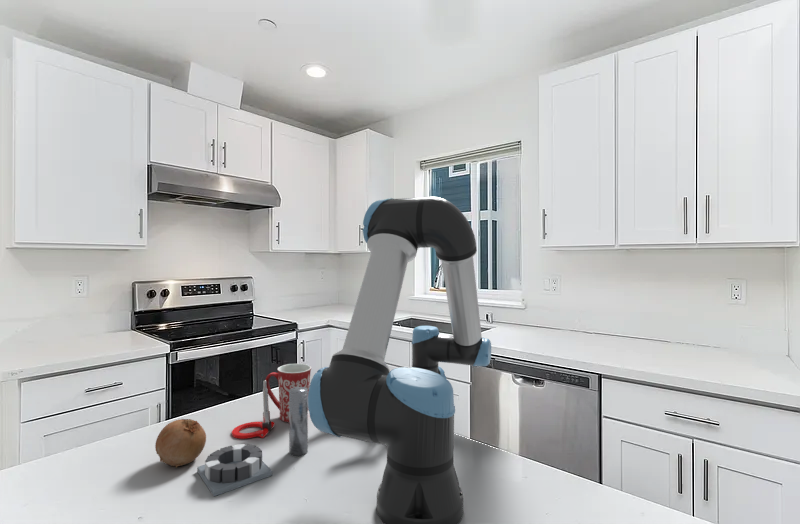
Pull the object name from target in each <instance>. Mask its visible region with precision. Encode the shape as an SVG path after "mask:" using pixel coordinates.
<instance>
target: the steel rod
mask: <svg viewBox="0 0 800 524" xmlns="http://www.w3.org/2000/svg"><path fill="white" fill-rule="evenodd" d="M308 417H309V410H308V389H307V388H306V387H295V388H291V389H290V390H289V422H288V428H289V429H288V432H289V433H288V434H289V435H288V438H289V439H288V445H289V446H288V451H289V452H288V453H289V455H290V456H292V457H301V456H305V455H306V454H307V453H308V447H309V446H308V443H309V442H308V441H309V440H308V439H309V435H308V434H309V432H308V431H309V426H308V424H309V422H308V421H309V419H308Z"/></svg>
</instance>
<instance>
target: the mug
mask: <svg viewBox="0 0 800 524" xmlns="http://www.w3.org/2000/svg"><path fill="white" fill-rule="evenodd" d="M276 370H277V372H274V371H273V372H270V373H269V374H267V375H266V377H265V380H266V381H267V389H268V397H269V398H270V399H271V401H272V402H273V404H274V405H275V406H276V408H277V409H278V411H279V420H281V421H282V422H283V423H284V422H285V423H289V390H290V389H291V388H295V387H306V388H307V389H308V392H309V386H310V383H311V370H312V366H311V365H309V364H306V363H287V364H283V365H281V366H278V367H277V369H276ZM271 377H274V378H276V380H277V383H278V399H279V400H278V399H277V397H276V396H275V394H274V392H273V391H272V389H271V387H270V378H271Z"/></svg>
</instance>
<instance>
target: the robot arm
mask: <svg viewBox="0 0 800 524" xmlns="http://www.w3.org/2000/svg"><path fill="white" fill-rule="evenodd" d="M362 225H363V228H362V235H363V239H364V241H365V243H366V246H367V249H368V251H369V252H370V255H369V258H368V262H367V264H366V265H367V266H366V269H365V272H364V276H363V279H362V283H361V286H360V289H359V292H358V295H357V299H356V303H355V306H354V309H353V311H352V312H353V313H352V316H351V320H350V322H349V325H348V330H347V334H346V336H345V339H344V343H343V346H342V348H341V350H339V351H337V352H335V353H333V355H332V356H331V359H330V363H329V365H328V366H324V367H321V368H319V369H318V370H317V371H316V372H315V373H314V375H313V376H312V378H311V379H310V386H309V392H308V414H309V418H310V421H311V422H312V424H313V426H314V427H315V428H316V429H317V430H319V431H320V432H322V433H325V434H330V435H333V436H335V437H336V438H340V437H344V438H347V439H348V438H349V439H354V440H359V441H364V442H368V443H369V442H370V443H374V444H378V445H379V444H381V445H385V446H386V465H385V468H384V471H383V475H382V479H381V482H380V485H379V486H378V489H377V492H376V512H377V513H376V514H377V515H378V518H379V519H380V520H381V521H382V523H383V524H459V523H460V522H461V520H462V518H463V515H464V495H463V491H462V488H461V487H460V483H459V479H458V474H457V472H456V468H455V466H454V457H455V456H454V454H455V453H454V452H455V449H454V447H455V446H454V445H455V444H454V443H455V442H454V441H455V414H456V405H455V400H454V397H455V396H454V394H455V393H454V387H453V385H452V383H451V382H450V381H449V380H448V379H447V376H446V375H445V371H444V369H443V367H441V366H440V365H439V363H444V364H445V363H447V364H456V365H457V364H458V365H465V366H471V367H487V366H489V365H490V362H491V359H492V342H491V340H490V339H489V338H487V337H486V338H485V337H482V328H481V318H480V310H479V309H480V308H479V300H478V299H479V297H478V289H477V282H476V273H475V264H474V263H475V262H474V256H475V255H476V254H477V252H478V251H477V242H476V236H475V232H474V230H473V228H472V225H471V224H470V222H469V220H468V218H467V217H466V216H465V215H464V213H463V212H462V211H461V209H459V208H458V207H457V206H456V205H455V204H453V203H452V202H451V201H449V200H447V199H445V198H441V197H438V196H428V197H408V198H407V197H406V198H405V197H404V198H403V197H402V198H392V197H390V198H386V199H379V200H376V201H374V202H371V204H369V206H368V208H367V209H366V211H365V213H364V217H363V221H362ZM420 248H423V249H424V248H433V249H434V250H435V256H436V258H437V260H439V261H441V266H442V273H443V279H444V286H445V291H446V299H447V305H448V312H449V318H450V323H451V331H452V335H449V334H448V335H446V334H440V330H439V328H438V327H437V326H432V325H419V326H416V327H414V328H413V330H412V340H411V350H412V351H411V367H405V366H403V367H395V368H393V369H391V370H390V368H389V366H388V364H387V363H386V361H385V358H386V355H387V350H388V346H389V341H390V338H391V333H392V329H393V325H394V322H395V318H396V317H395V316H396V313H397V308H398V304H399V301H400V295H401V291H402V288H403V282H404V280H405V275H406V270H407V266H408V263H410V262H412V261H413V260H415V259H416V256H417V253H418V249H420Z"/></svg>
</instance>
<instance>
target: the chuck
mask: <svg viewBox="0 0 800 524" xmlns="http://www.w3.org/2000/svg"><path fill="white" fill-rule="evenodd" d="M196 471H197V473H198V475H199V476H200V478H201V480H202V482H204V484H205V486H206V487H207V488H208V490H209V492H210V493H211V495H212V496H213V497H217V496H219V495H221V494H224V493H227V492H230V491H233V490H236V489H239V488H240V487H244V486H246V485H250V484H252V483H255V482H258V481H261V480H263V479H266V478H268V477H271V476H272V475H273V470H272V469H271V468H270V467H269V466H268V465H267V464H266V463H265V462H264V461H263V450H262V449H261V448H260V447H259V446H257V445H255V444H254V445H253V444H249V443H247V444H245V443H242V444H241V443H239V444H234V445H233V446H232V445H228V446H225V447H221V448H220V449H216V450H214V451H213V452H212V453H210V454H209V455H208V456H207V457H206V459H205V461H204V464H203V465H200V466H196Z"/></svg>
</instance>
